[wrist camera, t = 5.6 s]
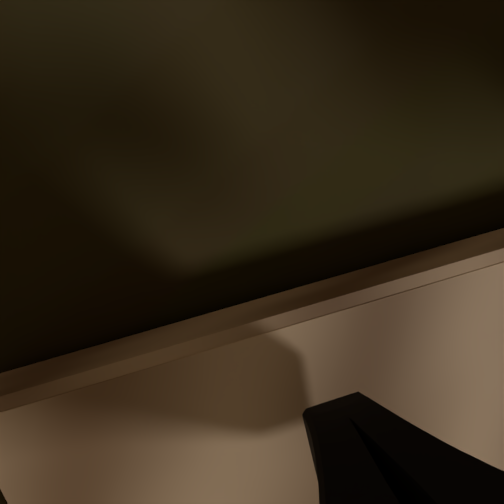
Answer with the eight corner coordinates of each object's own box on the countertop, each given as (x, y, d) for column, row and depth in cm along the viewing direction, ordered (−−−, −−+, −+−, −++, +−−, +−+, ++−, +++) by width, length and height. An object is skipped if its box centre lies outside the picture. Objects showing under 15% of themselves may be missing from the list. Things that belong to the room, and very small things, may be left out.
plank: (645, 186, 12) (695, 191, 11) (633, 428, 14) (673, 453, 13) (-17, 378, 10) (-41, 408, 9) (100, 620, 12) (93, 670, 11)
